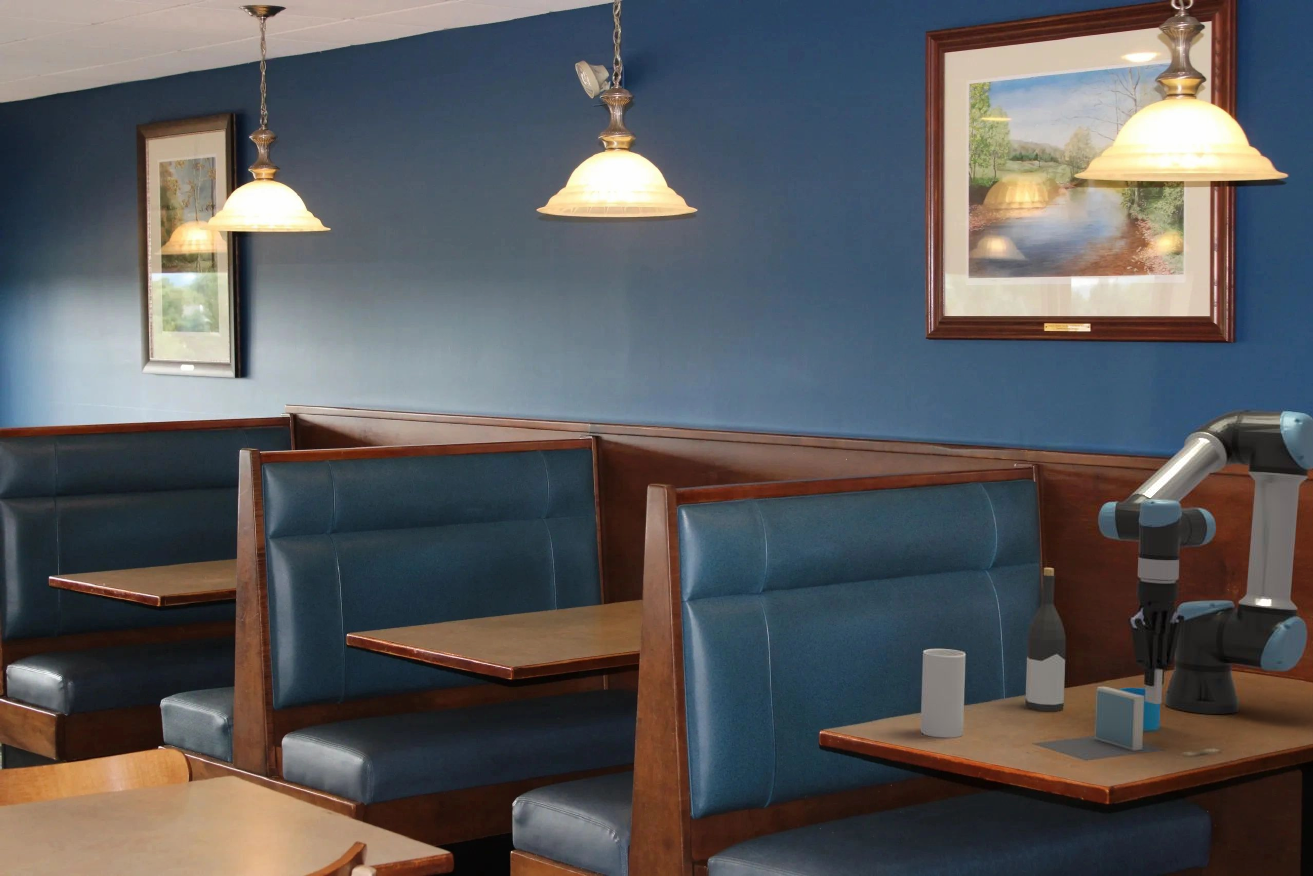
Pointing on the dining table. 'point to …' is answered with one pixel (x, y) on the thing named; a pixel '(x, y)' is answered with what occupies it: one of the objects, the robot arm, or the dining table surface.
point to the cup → (943, 693)
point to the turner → (1201, 752)
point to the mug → (1147, 710)
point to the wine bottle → (1046, 654)
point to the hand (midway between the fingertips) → (1153, 702)
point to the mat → (1092, 748)
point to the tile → (1119, 718)
